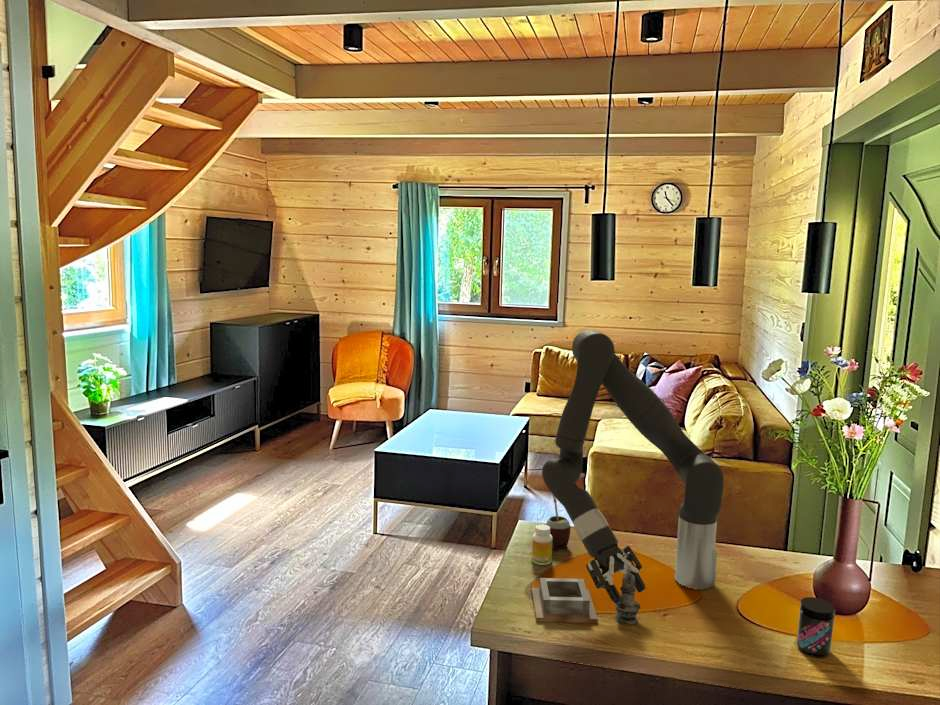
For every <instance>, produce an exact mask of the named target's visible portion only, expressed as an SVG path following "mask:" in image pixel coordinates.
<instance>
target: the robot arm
mask: <svg viewBox="0 0 940 705" xmlns="http://www.w3.org/2000/svg"><path fill="white" fill-rule="evenodd" d="M571 345H572V347H571V349H572V355H573V357H574V359H575V361H576V362H577V367H576V373H575V374H576V375H575V379H574V385H573V386H572V390H571V392H570V395H569V397H568V399H567V402H566V403H565V406H564V408H563V410H562V413H561V417H560V420H559V423H558V428H557V431H556V434H555V443H554V444H555V445H556V447H557V448H558V449H559V457H558V458H551V459H548V460H547V461H546V462H545V463H544V464H543V465H542V469H541V476H542V480H543V482H544V485H545V486H546V487H547V488H548V490H549V492H550V493H551V495H552V494H553V495H554V496H555V498H556V501H558V502H559V503H560V504H561V505H562V506H563V507H564V509H565V512H566V513H567V514H568V518H569V519H570V520H571V522H572V524H573V526H574V529H575V531H576V534H577V536H578V538H579V539H580V541H581V542H582V544H583V546H584V548H585V550H586V551H587V553H588V555H589V557H590V558H593V559H592V560H590V561H589V562H588V563H586V564H585V568H586V569H587V572H588V574H589V576H590V578H591V579H592V582H593V584H594V586H595V588H596V589H598V590H600V589H604V590H605V591H606V592H607V594H608V596H609V598H610V600H611V601H612V602H613V603H615V604H616V603H618V602H620V601H621V600H622V598H621V594H620V592H619V590H618V588H617V587H616V586H615V584H614V582H613V581H614V578H613V577H614V574H616V573H618V572H620V573H622V574H626V573H628V571H630V572H631V573H630V574H632V575H634V577H635V589H636V591H637V593H642V592H643V591H645V590H646V588H647V587H646V585H645V582H644V581H643V579H642V576H641V574H639V573H640V571H641V570H642V568H643V564H642V563H641V562H640V560H639V559H638V557H637V556H636V554H635V552H634V551H633V549H632V547H631V546H630V545H626V546H625V547H623V548H622V549H621V548H620V547H619V546H618V545H619V541H618V540H619V539H617V537H616V535H615V534H614V531H613V530H612V528H611V526H610V524H609V523H608V521H607V519H606V517H605V516H604V515H603V513H602V512H601V510H600V509H599V508H598V506H597V504H596V502H595V501H594V498H593V497H592V495H591V494H590V493H589V491H587V490H586V489H584V488H581V487H579V486H578V484H576V483H577V482H578V481H579V480H580V477H581V475H582V471H583V463H584V462H583V461H584V458H583V457H584V453H583V452H584V443H585V440H586V436H587V434H588V429H589V426H590V421H591V418H592V413H593V411H594V407H595V404H596V399H597V397H598V394H599V391H600V389H601V386H603V387H604V389H605V390H606V392H607V393H608V394H609V395H610V397H611V398H612V400H613V401H614V403H615V404H616V405H617V407H618V408H619V410H620V411H621V412H622V413H623V415H624V416H625V417H626V418H627V420H628V421H629V422H630V423H631V424H632V426H634V428H635V429H636V430H637V431H638V432H639V433H640V434H641V435H642V436H643V437H644V438H645V439H646V440H647V441H648V442H649V443H651V444H652V445H653V446H655V447H656V448H657V449H658V450H660V451H661V453H662V454H663V455H664V456H665V457H666V458H667V460H668V461H669V463H670V464H671V465H672V467H673V469H674V470H675V472H676V474H678V476H679V477H680V480H681V481H682V482H683V484H684V485H685V487H684V488H685V489H684V498H683V502H682V503H681V504H680V506H679V512H678V525H677V526H678V527H677V536H676V538H677V542H676V550H675V552H676V554H675V565H674V566H675V569H674V581H675V580H676V581H677V582H678V583H679V584H678V583H677V582H676V581H675V582H676V583H677V584H678V585H680V584H681V585H680V586H682V585H684V586H687V587H691V588H696V589H695V590H698V589H699V590H706V589H709V588H715V587H716V577H717V575H716V574H717V563H718V550H717V549H716V538H717V526H718V524H717V523H718V516H719V514H720V512H721V509H722V502H723V501H722V500H723V493H724V483H725V481H724V480H725V479H724V473H723V470H722V468H721V467H720V466H719V465H718V464H717V463H716V462H715V461H714V460H713V458H711V457H710V456H709V455H707V454H706V453H705V452H704V451H703V450H702V449H701V448H699V447H698V446H697V445H696V444H695V443H694V442H693V441H692V440H691V439H690V438H689V436H687V434H686V433H685V432H684V431H683V430H682V427H681V426H680V425H679V422H678V421H677V419H676V418H675V416H674V414H673V413H672V412H671V410H670V409H669V407H668V406H667V405H666V404H665V402H664V401H663V400H662V399H661V398H660V397H659V395H657V394H656V392H655V391H653V389H651V388H650V387H649V385H647V384H646V382H644V381H643V380H642V379H641V378H639V377H638V376H637V375H636V374H635V373H633V372H632V371H631V370H629V368H628V367H626V365H625V364H624V363H623V362H622V360H621V359H620V358H619V356H618V355H617V354H616V353H615V346H614V343H613V341H612V339H611V338H610V337H609V336H608V335H607V334H605V333H603V332H600V331H598V330H594V329H586V330H582V331H581V332H579V333H577V335H575V337H574V338H573V340H572V344H571ZM553 495H552V496H553ZM684 586H683V587H684ZM687 587H686V588H687Z"/></svg>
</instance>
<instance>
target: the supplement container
mask: <svg viewBox="0 0 940 705" xmlns="http://www.w3.org/2000/svg"><path fill="white" fill-rule="evenodd" d="M799 603H800V605H799V616H798V625H797V626H798V628H797V636H796V646H797V647H798V649H799V651H801V652H802V653H803V654H805V655H807V656H810V657H814V658H825V657H828V656H829V655H830V653H831V650H832V649H831V648H832V642H833V633H834V622H835V617H836V615H835V614H836V607H835V605H834V604H833V603H832V602H830V601H828V600H825V599H822V598H820V597H813V596H811V597H810V596H809V597H803V598H801V600H800V602H799Z"/></svg>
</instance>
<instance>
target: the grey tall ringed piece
mask: <svg viewBox="0 0 940 705" xmlns="http://www.w3.org/2000/svg"><path fill="white" fill-rule="evenodd" d="M630 571H631V570H630ZM630 571H628V573H623V576H622V581H621V582H622V583H621V587H620V589H619V590H620V592H621V594H620V596H621V598H622V600H621V601H620V602H618V603H616V604H615V603H614V602H613V603H614V606H615V611H616V612H617V614H615V616H614V619H615V621H616V622H617V623H619V624H621V625H625V626H634V625H637V624H638V622H639V618H638V617H637V615H638V613H639V610H641V605H640V603H639V602H638V601H636V600H635V593H636V591H637V589H636V588H635V577H634V575H632V574H630V573H631V572H630Z"/></svg>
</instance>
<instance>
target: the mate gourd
mask: <svg viewBox="0 0 940 705" xmlns="http://www.w3.org/2000/svg"><path fill="white" fill-rule="evenodd" d="M551 495H552V498H553V503H554V510H555V515H553V516H551V517H549V518H548V519H547V521H546V523H545V525H548V526H549V527H550V534H551V535H552V538H553V540H552V551H556V550H557V549H558V548H561V549H564V550H568V549H569V548H568V547H569V546H568V544H569V542H570V535H571V523H570V521H569V520H568V519H567V518H566V517H564V516H561V515H559V512H558V505H557V501H558V500H557V498H556V497H555V496H554V495H553V494H552V493H551Z"/></svg>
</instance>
